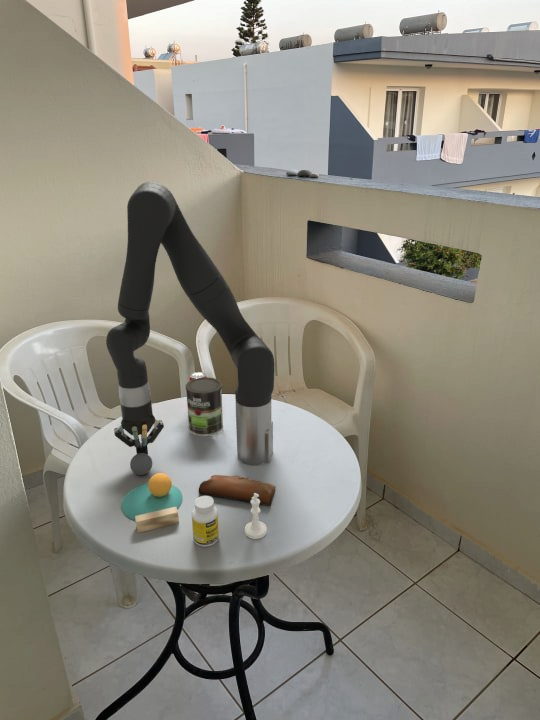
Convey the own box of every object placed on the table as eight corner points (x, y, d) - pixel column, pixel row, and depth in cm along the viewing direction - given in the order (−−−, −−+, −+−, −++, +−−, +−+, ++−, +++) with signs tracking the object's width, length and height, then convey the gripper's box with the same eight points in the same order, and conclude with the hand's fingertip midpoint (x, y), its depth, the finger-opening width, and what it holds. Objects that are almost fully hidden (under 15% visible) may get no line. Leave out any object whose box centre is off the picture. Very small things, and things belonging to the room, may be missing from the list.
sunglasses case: (278, 485, 125) (275, 474, 119) (273, 512, 121) (269, 502, 115) (210, 474, 128) (204, 463, 123) (202, 501, 125) (195, 491, 119)
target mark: (190, 486, 124) (190, 485, 124) (170, 525, 112) (170, 524, 111) (136, 480, 126) (136, 479, 126) (111, 517, 114) (110, 517, 114)
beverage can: (207, 413, 157) (205, 379, 152) (190, 413, 157) (188, 378, 152) (209, 405, 162) (207, 371, 157) (193, 405, 162) (190, 371, 157)
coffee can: (215, 439, 144) (213, 395, 138) (182, 433, 147) (179, 390, 141) (228, 421, 153) (227, 379, 147) (197, 416, 156) (194, 375, 150)
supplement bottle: (208, 551, 104) (205, 513, 101) (188, 541, 107) (185, 504, 103) (224, 535, 109) (222, 498, 105) (204, 526, 111) (201, 490, 107)
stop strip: (177, 517, 114) (176, 506, 113) (178, 522, 112) (177, 512, 111) (136, 526, 111) (135, 516, 110) (137, 532, 109) (136, 522, 108)
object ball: (177, 475, 120) (173, 484, 124) (156, 465, 120) (153, 475, 124) (166, 494, 116) (163, 504, 120) (145, 485, 116) (142, 494, 120)
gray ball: (154, 449, 128) (156, 471, 126) (147, 455, 133) (149, 476, 131) (132, 451, 126) (134, 472, 124) (126, 456, 130) (128, 478, 128)
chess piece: (271, 530, 110) (271, 493, 106) (255, 542, 107) (255, 504, 103) (255, 519, 113) (255, 483, 109) (239, 531, 110) (238, 494, 106)
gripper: (159, 388, 132) (165, 444, 138) (107, 396, 127) (115, 454, 134) (164, 401, 125) (170, 459, 132) (109, 410, 121) (117, 470, 128)
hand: (142, 456), depth 133 cm, fingers closed
